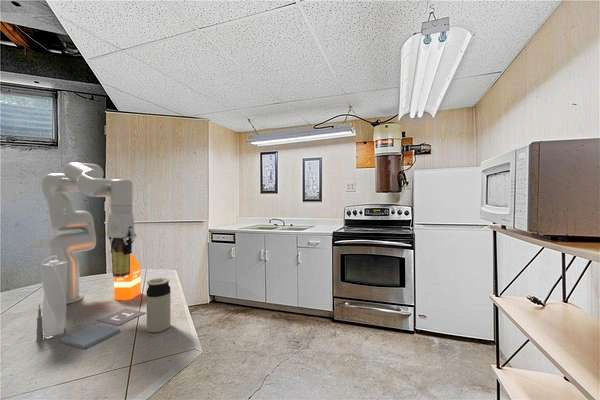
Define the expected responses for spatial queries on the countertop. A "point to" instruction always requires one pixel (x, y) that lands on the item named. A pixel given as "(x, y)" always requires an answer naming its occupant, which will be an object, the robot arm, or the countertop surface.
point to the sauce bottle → (120, 259)
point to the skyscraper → (52, 300)
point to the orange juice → (128, 282)
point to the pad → (90, 336)
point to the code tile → (121, 316)
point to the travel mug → (158, 305)
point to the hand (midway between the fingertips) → (121, 252)
